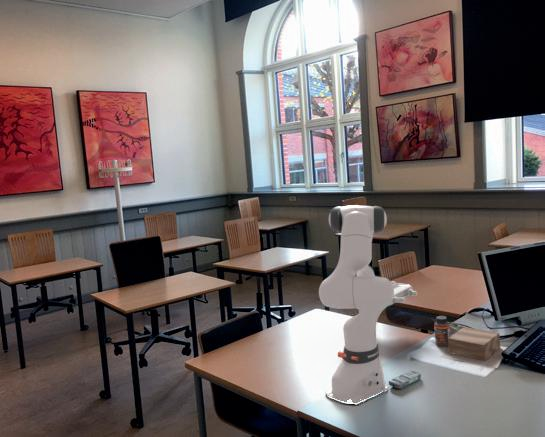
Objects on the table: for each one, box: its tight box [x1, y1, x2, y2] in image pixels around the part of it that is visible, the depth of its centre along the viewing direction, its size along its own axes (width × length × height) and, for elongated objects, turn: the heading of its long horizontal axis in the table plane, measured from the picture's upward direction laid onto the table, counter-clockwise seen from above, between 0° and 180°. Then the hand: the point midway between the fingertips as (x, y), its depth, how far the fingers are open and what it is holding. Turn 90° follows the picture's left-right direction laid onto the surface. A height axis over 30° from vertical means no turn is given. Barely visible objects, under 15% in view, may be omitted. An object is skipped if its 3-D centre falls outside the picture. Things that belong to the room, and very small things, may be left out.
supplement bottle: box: [433, 315, 451, 347], centre depth 199 cm, size 6×6×11 cm
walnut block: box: [447, 326, 501, 362], centre depth 190 cm, size 14×14×6 cm
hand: (410, 297), depth 207 cm, fingers open, 8 cm apart
